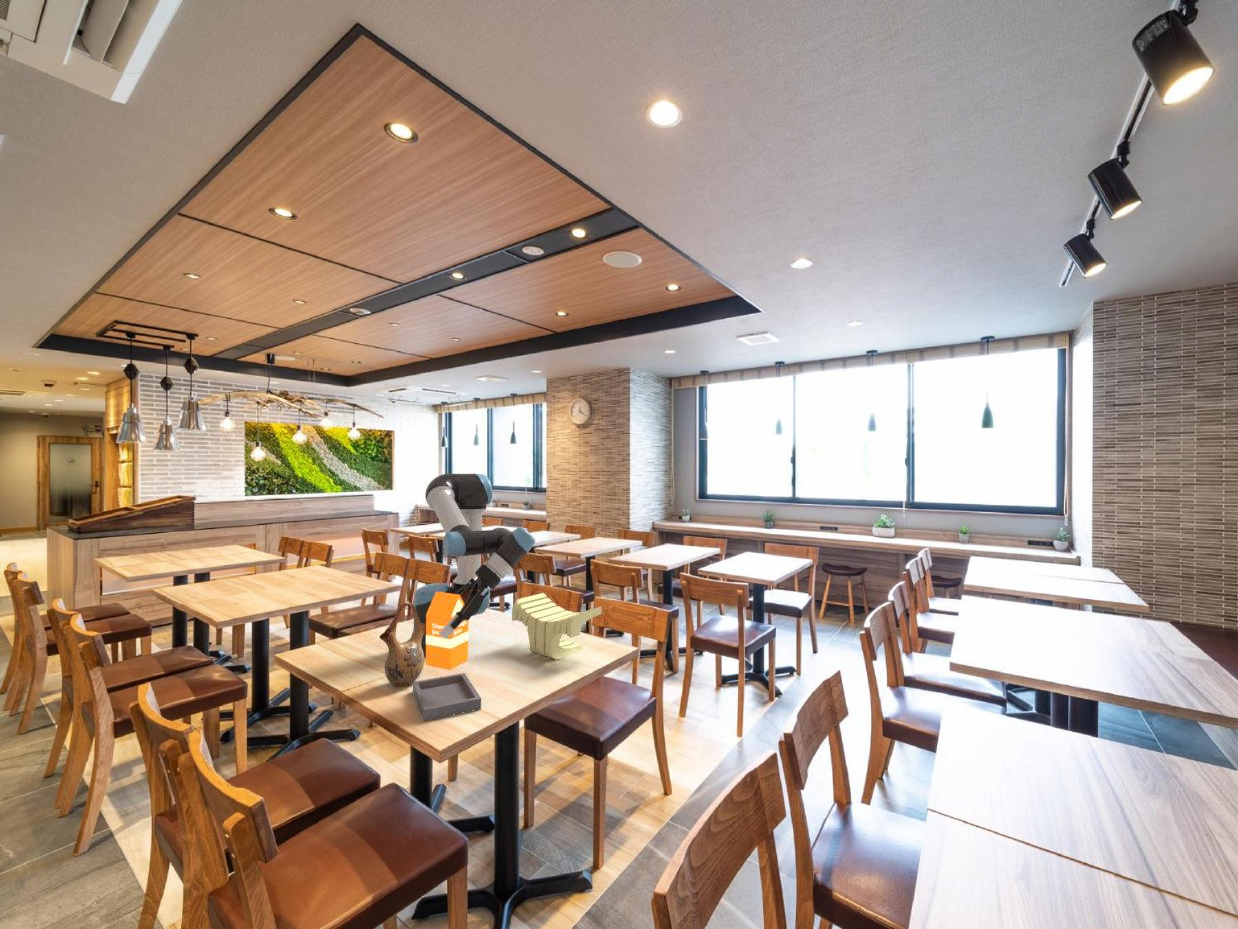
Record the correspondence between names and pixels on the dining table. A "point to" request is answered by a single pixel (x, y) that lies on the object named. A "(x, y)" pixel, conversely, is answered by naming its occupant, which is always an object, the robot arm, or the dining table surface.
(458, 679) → the tray
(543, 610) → the slatted curved stool
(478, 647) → the dining table surface
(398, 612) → the ceramic vessel
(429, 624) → the orange juice
